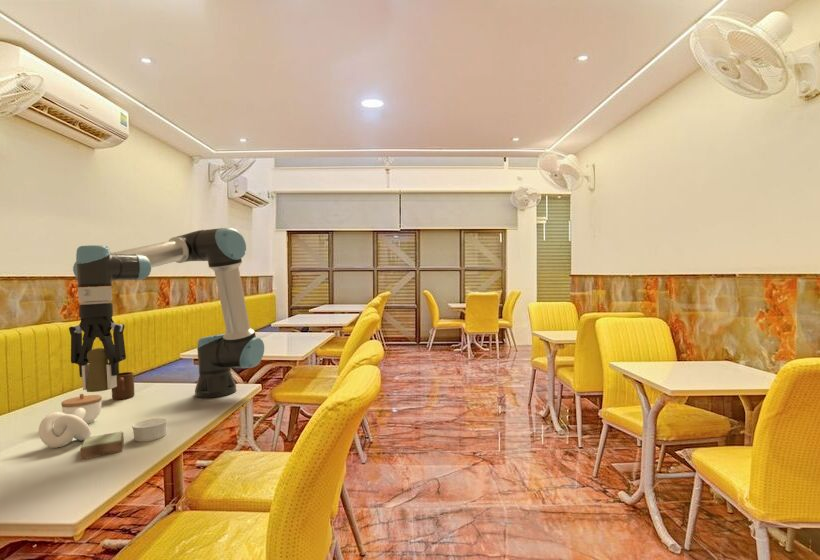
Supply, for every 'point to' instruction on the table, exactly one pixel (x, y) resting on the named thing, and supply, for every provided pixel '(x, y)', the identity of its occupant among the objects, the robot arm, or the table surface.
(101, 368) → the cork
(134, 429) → the ramekin
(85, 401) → the lidded jar
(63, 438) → the white decorative knot
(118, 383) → the mug
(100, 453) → the stand
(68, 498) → the table surface
